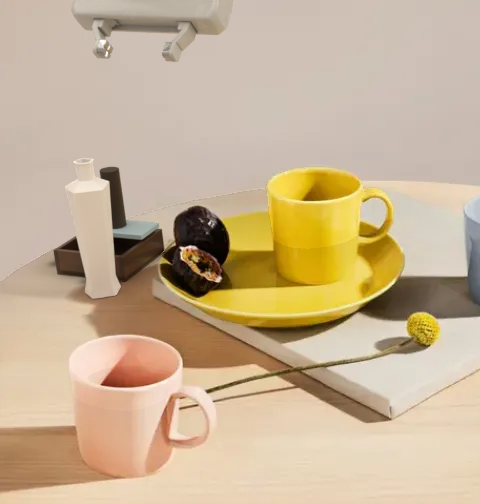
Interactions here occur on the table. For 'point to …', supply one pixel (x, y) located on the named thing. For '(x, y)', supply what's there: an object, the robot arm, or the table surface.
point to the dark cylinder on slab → (123, 210)
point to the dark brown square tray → (125, 253)
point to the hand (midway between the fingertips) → (134, 57)
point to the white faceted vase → (93, 229)
